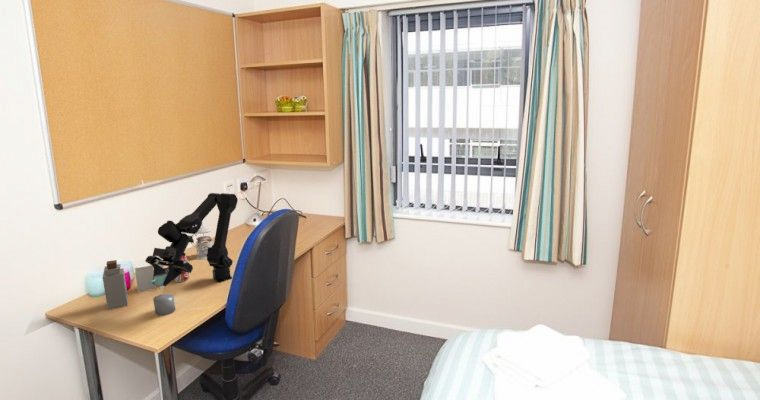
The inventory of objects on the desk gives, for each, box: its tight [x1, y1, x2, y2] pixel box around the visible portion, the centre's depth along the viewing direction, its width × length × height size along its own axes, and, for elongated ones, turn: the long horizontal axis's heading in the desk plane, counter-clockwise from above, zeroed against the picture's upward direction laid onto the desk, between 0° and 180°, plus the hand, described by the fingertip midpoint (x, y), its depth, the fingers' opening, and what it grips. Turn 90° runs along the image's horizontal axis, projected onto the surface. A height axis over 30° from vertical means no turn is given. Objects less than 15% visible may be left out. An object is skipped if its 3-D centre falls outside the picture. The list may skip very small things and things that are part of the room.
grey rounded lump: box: [153, 293, 176, 317], centre depth 170 cm, size 7×7×6 cm
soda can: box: [172, 255, 190, 283], centre depth 198 cm, size 7×7×12 cm
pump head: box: [149, 274, 167, 290], centre depth 166 cm, size 7×5×5 cm, turn 160°
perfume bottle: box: [102, 259, 129, 310], centre depth 174 cm, size 7×7×18 cm
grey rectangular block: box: [134, 265, 157, 293], centre depth 190 cm, size 4×7×10 cm, turn 118°
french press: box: [190, 222, 214, 260], centre depth 226 cm, size 10×12×25 cm
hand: (158, 284), depth 166 cm, fingers closed on pump head, 5 cm apart
